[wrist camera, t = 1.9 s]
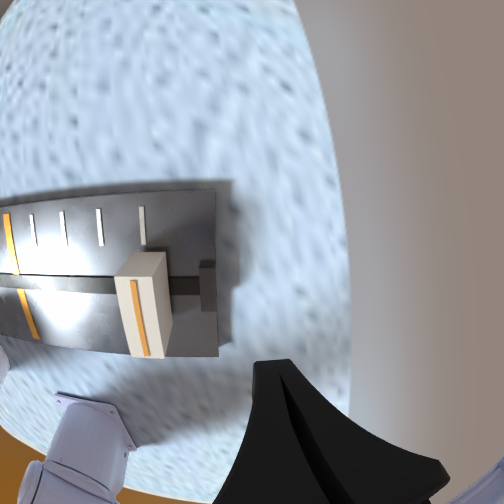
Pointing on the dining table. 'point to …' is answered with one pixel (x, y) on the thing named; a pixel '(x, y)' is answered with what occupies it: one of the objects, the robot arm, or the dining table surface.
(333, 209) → the dining table surface
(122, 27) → the dining table surface
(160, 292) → the block
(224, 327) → the dining table surface
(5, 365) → the foam cup
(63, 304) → the console
